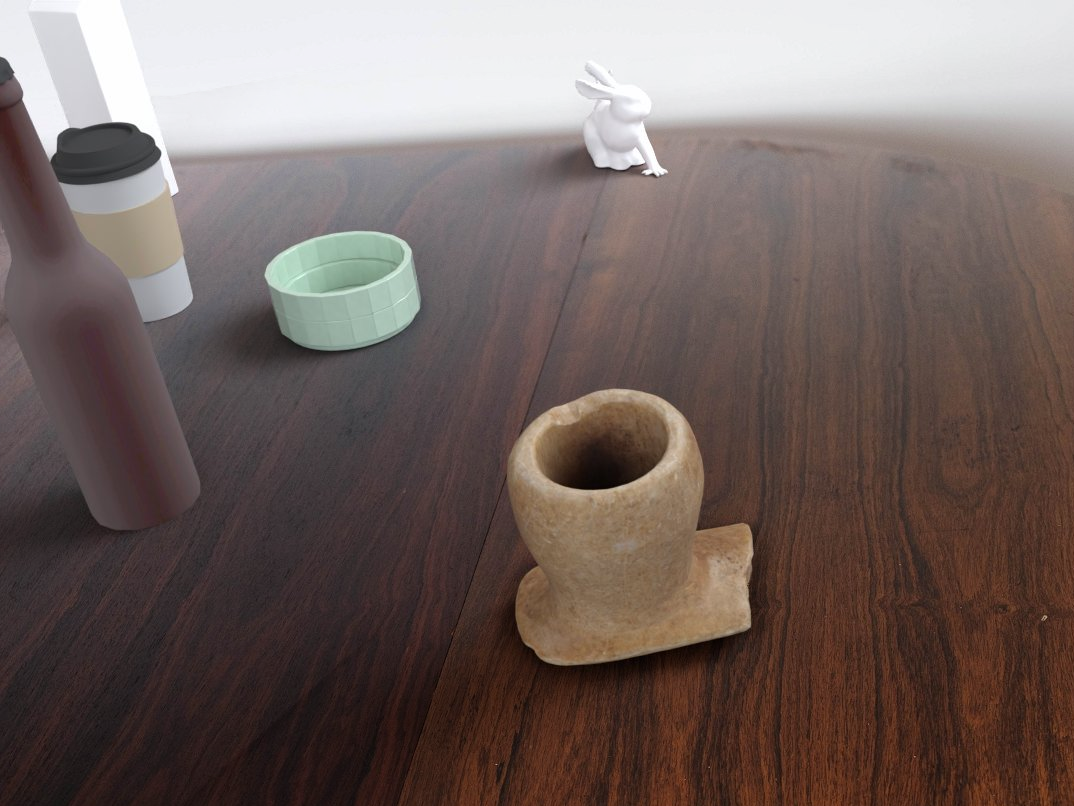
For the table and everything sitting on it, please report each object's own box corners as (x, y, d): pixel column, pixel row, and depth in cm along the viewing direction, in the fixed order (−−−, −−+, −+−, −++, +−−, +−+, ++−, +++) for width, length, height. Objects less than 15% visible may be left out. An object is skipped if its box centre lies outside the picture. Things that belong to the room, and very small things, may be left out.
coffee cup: (223, 283, 118) (171, 112, 108) (174, 330, 112) (115, 154, 102) (137, 279, 120) (78, 111, 110) (85, 325, 114) (17, 152, 104)
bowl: (250, 336, 110) (234, 280, 107) (344, 276, 117) (331, 222, 114) (359, 365, 105) (345, 307, 101) (450, 300, 112) (440, 244, 108)
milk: (135, 187, 138) (57, -47, 122) (180, 192, 135) (107, -46, 120) (97, 210, 134) (12, -29, 118) (143, 216, 132) (63, -27, 116)
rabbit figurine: (669, 175, 128) (664, 71, 121) (597, 191, 126) (588, 87, 120) (626, 137, 136) (619, 37, 129) (559, 151, 135) (548, 51, 128)
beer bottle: (178, 475, 95) (15, 32, 74) (226, 516, 91) (68, 56, 70) (82, 519, 92) (-116, 68, 71) (128, 564, 87) (-69, 97, 67)
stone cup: (530, 713, 73) (493, 491, 63) (511, 587, 82) (475, 373, 72) (792, 671, 74) (797, 444, 64) (746, 550, 83) (743, 333, 72)
